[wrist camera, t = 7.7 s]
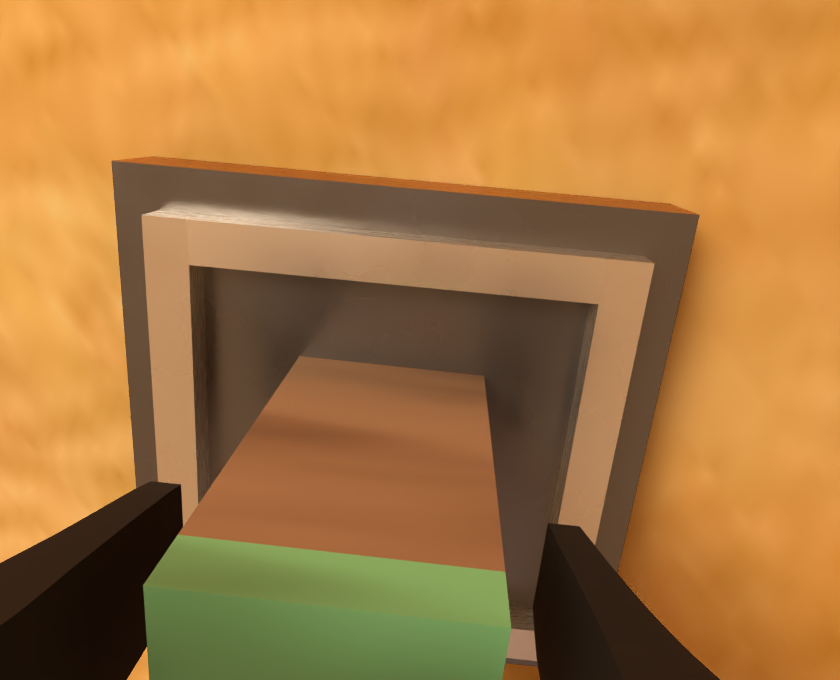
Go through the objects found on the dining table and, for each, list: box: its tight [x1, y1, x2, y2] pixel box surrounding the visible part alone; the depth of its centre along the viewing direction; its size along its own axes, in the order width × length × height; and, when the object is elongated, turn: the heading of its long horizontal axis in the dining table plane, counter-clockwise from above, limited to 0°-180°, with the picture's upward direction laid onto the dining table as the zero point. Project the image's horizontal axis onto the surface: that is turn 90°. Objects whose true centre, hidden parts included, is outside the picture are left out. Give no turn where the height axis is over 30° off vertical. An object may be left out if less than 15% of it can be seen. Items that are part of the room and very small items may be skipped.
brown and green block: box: [143, 356, 511, 680], centre depth 12 cm, size 4×4×8 cm
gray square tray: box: [112, 157, 699, 667], centre depth 16 cm, size 13×13×3 cm
